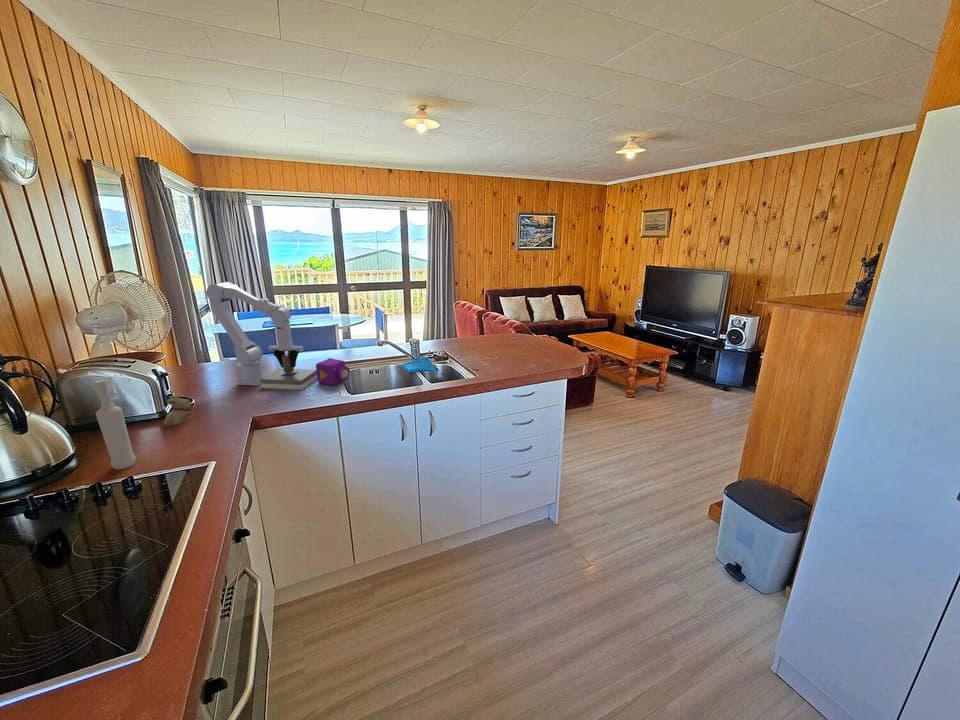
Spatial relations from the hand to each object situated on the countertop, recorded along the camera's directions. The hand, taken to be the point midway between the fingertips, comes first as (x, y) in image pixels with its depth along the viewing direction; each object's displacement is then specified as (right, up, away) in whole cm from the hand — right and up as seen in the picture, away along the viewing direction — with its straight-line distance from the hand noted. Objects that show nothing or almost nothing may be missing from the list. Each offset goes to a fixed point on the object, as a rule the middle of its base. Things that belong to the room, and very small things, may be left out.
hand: (288, 367), depth 172 cm
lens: (0, -2, 0) cm, 2 cm away
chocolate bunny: (-21, -18, -34) cm, 45 cm away
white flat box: (0, -7, +2) cm, 7 cm away
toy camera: (+19, -7, +4) cm, 21 cm away
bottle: (-16, -27, -61) cm, 68 cm away
